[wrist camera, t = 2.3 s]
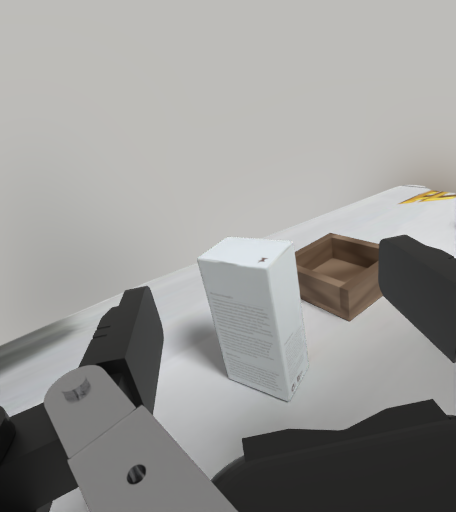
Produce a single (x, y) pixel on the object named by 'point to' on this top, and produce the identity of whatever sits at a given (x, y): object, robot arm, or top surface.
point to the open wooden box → (339, 274)
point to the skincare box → (257, 312)
